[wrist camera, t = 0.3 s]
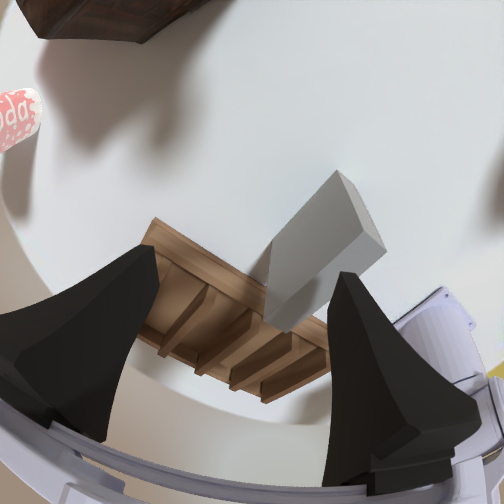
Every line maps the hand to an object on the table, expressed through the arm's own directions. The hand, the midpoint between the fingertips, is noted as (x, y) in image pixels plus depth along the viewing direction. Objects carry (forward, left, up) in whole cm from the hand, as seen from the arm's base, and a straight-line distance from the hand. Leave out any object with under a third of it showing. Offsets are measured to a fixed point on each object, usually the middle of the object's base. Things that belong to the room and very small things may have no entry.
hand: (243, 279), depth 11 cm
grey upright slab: (-4, 0, -10) cm, 11 cm away
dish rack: (-6, +14, -10) cm, 18 cm away
